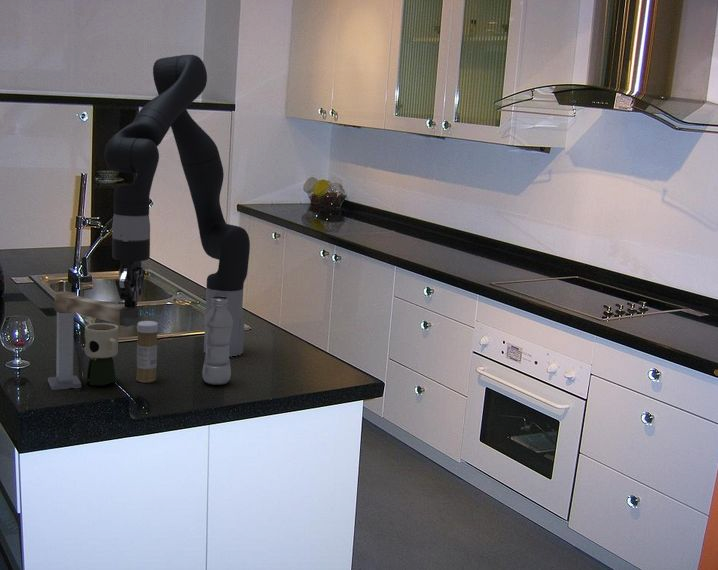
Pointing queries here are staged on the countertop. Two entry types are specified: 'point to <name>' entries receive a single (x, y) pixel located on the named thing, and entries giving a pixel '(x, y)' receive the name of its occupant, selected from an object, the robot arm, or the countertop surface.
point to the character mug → (101, 352)
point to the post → (64, 354)
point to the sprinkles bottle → (146, 351)
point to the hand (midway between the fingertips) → (130, 318)
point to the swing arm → (95, 308)
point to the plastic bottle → (217, 342)
